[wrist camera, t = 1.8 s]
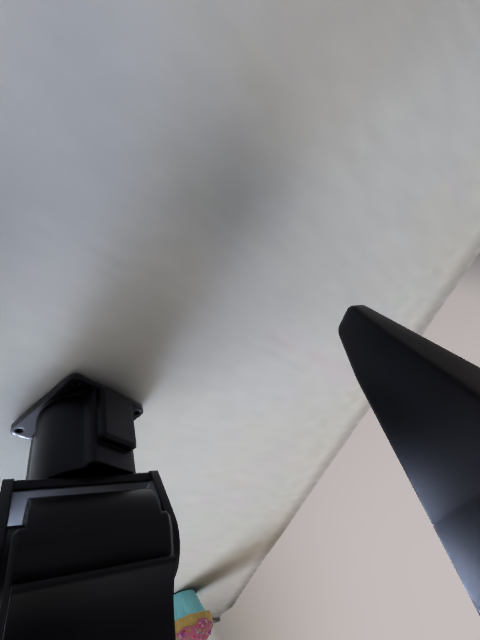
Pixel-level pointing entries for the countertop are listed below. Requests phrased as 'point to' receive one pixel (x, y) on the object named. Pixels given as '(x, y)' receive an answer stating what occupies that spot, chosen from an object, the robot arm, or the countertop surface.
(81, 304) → the countertop surface
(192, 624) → the cupcake
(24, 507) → the robot arm
